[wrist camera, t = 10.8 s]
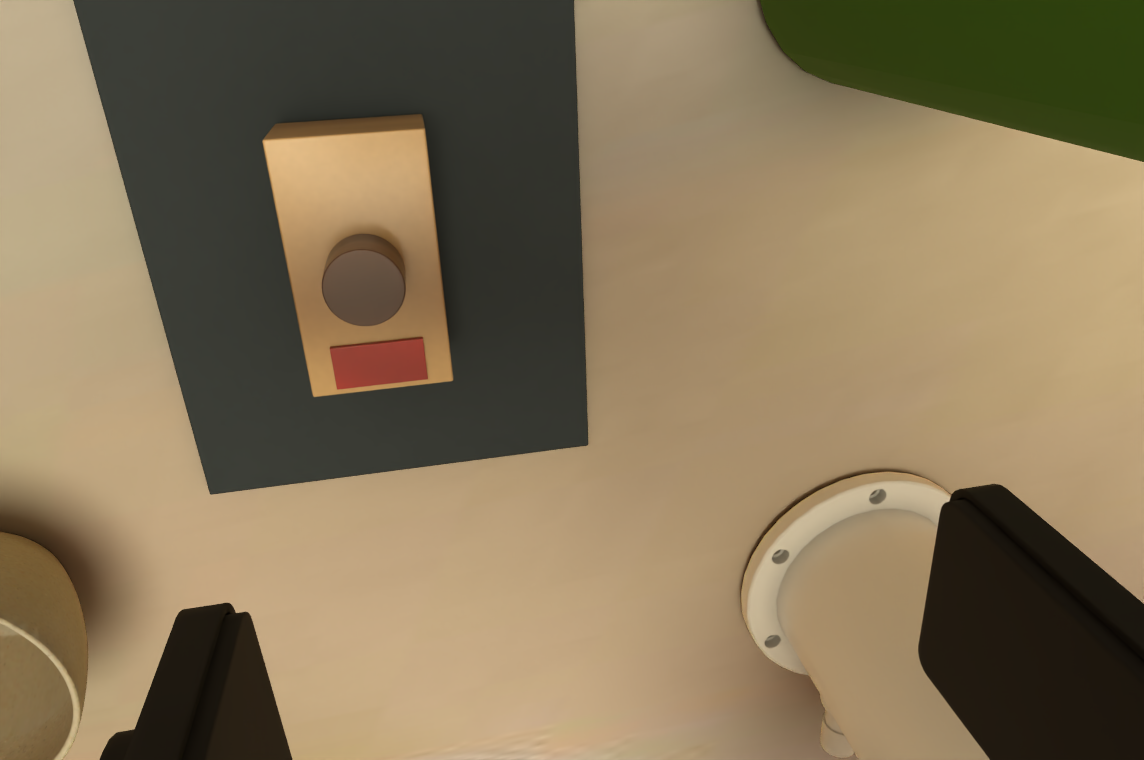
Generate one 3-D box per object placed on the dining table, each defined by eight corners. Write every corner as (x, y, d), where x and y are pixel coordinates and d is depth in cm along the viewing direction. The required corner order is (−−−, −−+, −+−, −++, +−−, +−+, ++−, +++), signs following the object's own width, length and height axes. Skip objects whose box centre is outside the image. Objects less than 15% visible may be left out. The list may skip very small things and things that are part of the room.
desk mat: (586, 441, 37) (588, 445, 37) (211, 489, 35) (210, 495, 34) (569, -66, 28) (572, -67, 28) (63, -48, 26) (59, -49, 26)
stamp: (275, 121, 29) (252, 150, 24) (421, 111, 30) (427, 138, 25) (320, 357, 33) (308, 422, 28) (448, 343, 34) (456, 404, 29)
